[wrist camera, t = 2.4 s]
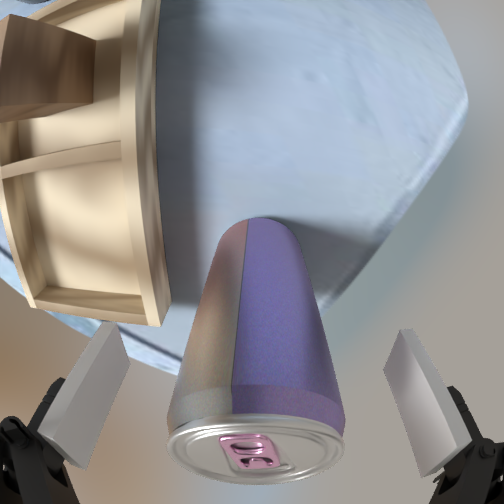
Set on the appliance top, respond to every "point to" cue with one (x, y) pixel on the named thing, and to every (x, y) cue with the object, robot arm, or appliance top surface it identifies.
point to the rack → (92, 178)
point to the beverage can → (256, 368)
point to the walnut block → (43, 69)
